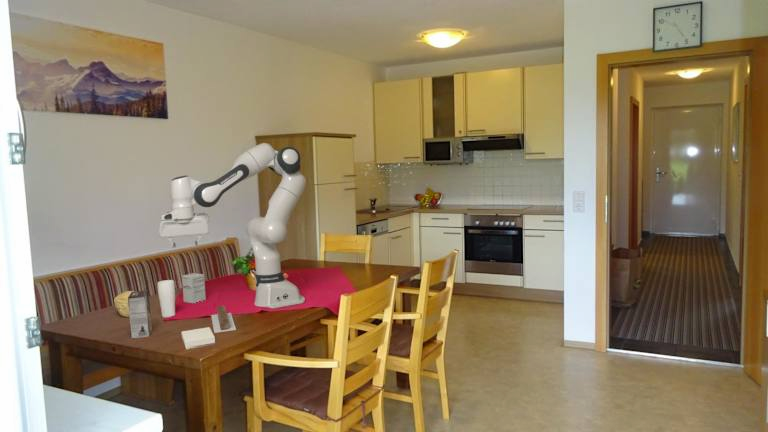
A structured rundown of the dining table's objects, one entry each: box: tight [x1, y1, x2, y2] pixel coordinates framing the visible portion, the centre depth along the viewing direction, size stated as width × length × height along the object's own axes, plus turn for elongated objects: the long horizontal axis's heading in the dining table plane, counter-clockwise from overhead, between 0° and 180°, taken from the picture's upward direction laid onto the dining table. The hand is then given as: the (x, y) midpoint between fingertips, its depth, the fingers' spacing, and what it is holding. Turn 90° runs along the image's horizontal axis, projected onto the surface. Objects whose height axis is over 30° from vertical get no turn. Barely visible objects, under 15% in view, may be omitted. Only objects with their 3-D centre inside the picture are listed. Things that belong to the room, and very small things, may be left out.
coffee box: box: [128, 289, 153, 340], centre depth 214 cm, size 9×6×16 cm
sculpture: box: [113, 290, 137, 318], centre depth 243 cm, size 12×12×11 cm
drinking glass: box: [157, 279, 176, 319], centre depth 238 cm, size 7×7×15 cm
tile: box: [181, 326, 216, 350], centre depth 204 cm, size 10×3×14 cm
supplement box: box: [181, 272, 207, 304], centre depth 262 cm, size 7×7×13 cm
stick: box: [216, 304, 229, 330], centre depth 225 cm, size 3×22×4 cm, turn 19°
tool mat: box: [210, 312, 237, 334], centre depth 225 cm, size 8×26×1 cm, turn 19°
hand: (185, 246), depth 240 cm, fingers open, 8 cm apart
